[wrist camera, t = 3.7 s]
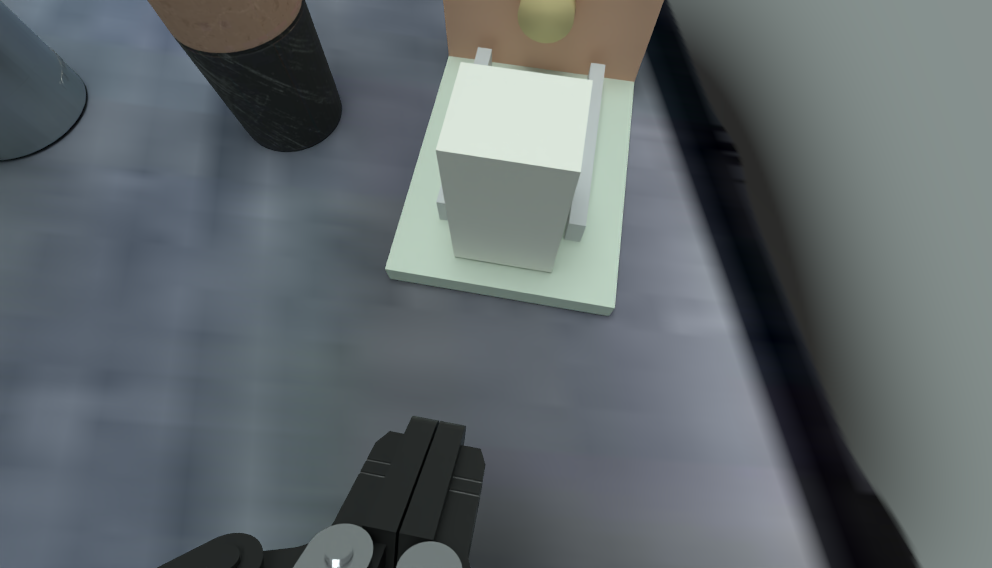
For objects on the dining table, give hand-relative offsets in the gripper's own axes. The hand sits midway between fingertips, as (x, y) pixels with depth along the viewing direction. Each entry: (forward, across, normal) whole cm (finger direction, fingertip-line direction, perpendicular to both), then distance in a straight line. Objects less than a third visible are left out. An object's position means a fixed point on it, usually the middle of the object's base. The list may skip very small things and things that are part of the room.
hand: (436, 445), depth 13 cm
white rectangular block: (+18, 0, -1) cm, 18 cm away
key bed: (+24, 0, -5) cm, 25 cm away
